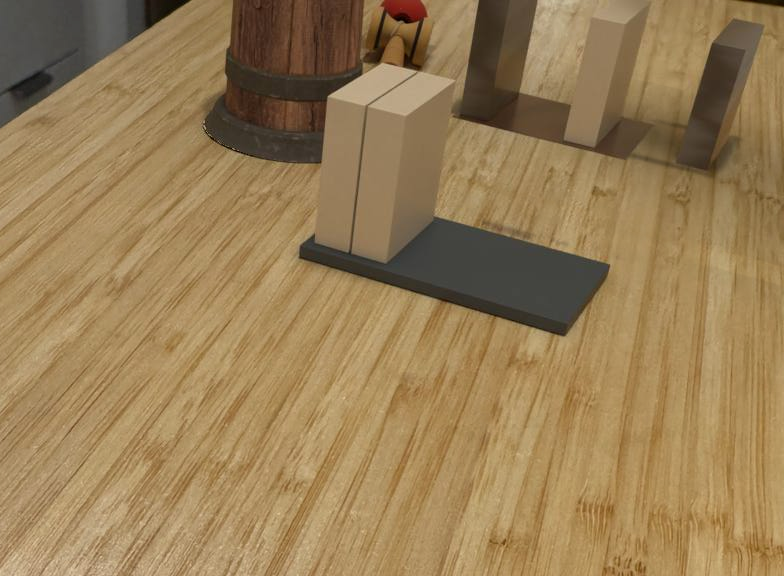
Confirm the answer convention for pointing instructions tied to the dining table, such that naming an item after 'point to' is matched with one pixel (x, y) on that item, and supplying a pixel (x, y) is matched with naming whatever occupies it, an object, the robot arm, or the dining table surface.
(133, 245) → the dining table surface
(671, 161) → the dining table surface
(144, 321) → the dining table surface
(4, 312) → the dining table surface
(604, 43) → the beige rectangular block
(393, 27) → the kendama
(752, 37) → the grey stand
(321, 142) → the tankard
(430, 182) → the dark base with blocks
